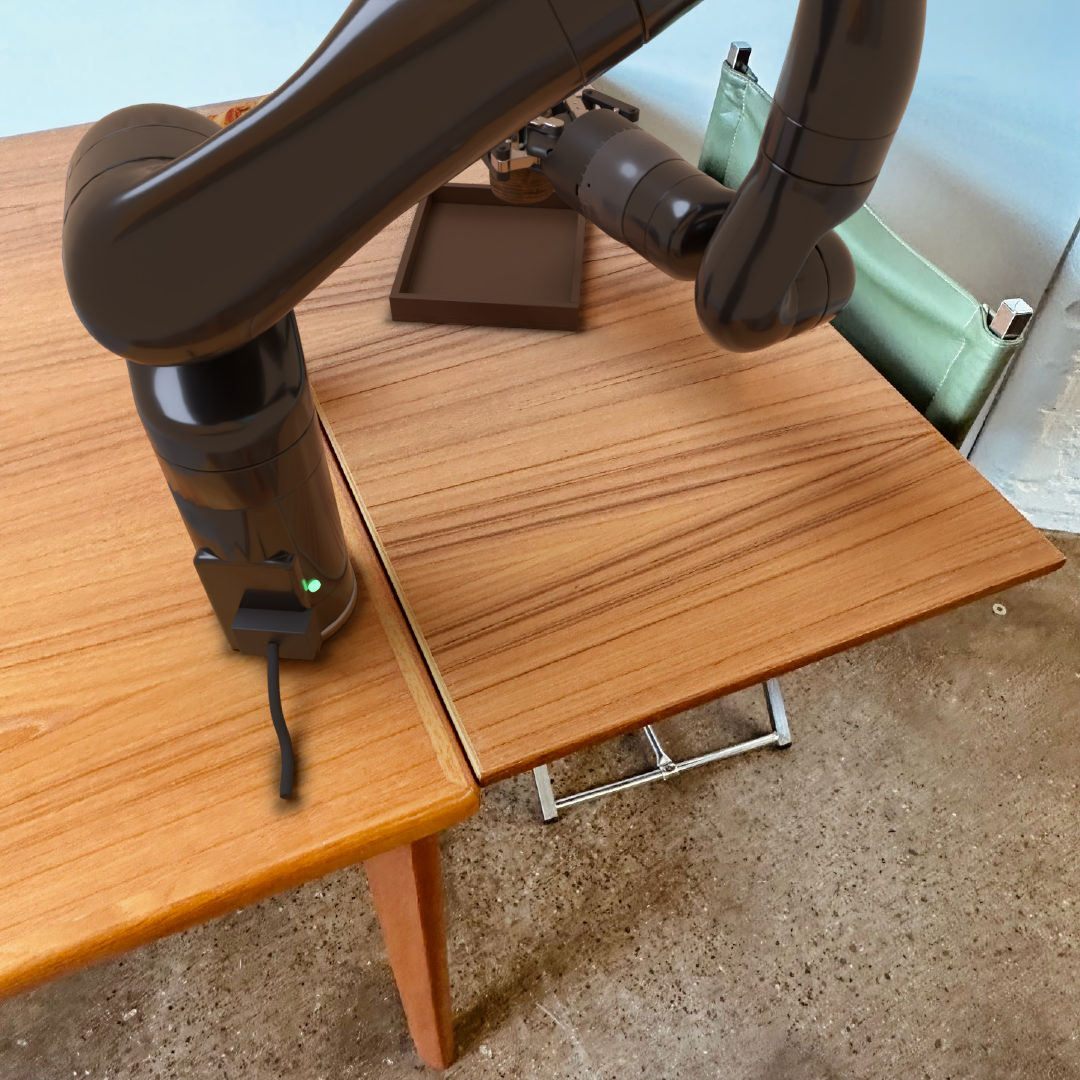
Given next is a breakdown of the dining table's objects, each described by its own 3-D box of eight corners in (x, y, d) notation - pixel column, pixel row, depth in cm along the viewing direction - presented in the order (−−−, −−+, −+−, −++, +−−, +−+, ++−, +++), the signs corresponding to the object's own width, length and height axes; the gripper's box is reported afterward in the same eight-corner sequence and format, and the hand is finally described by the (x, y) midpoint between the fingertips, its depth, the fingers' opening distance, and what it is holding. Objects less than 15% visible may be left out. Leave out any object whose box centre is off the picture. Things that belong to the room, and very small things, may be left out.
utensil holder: (508, 212, 79) (506, 67, 70) (476, 181, 82) (470, 38, 73) (568, 197, 81) (573, 53, 72) (534, 166, 84) (535, 26, 75)
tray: (577, 331, 86) (578, 307, 84) (391, 320, 86) (388, 297, 84) (586, 211, 100) (587, 189, 98) (427, 203, 100) (425, 180, 98)
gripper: (704, 108, 68) (575, 33, 77) (544, 156, 63) (426, 70, 72) (690, 202, 74) (572, 122, 83) (543, 253, 69) (434, 162, 78)
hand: (505, 98), depth 78 cm, fingers closed on utensil holder, 5 cm apart
